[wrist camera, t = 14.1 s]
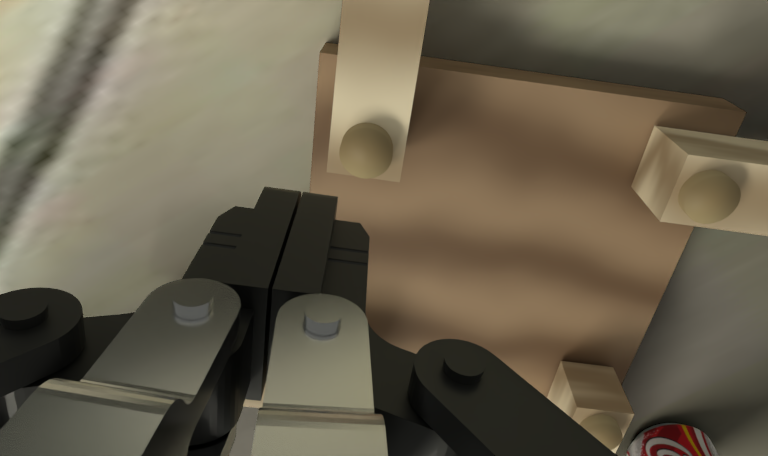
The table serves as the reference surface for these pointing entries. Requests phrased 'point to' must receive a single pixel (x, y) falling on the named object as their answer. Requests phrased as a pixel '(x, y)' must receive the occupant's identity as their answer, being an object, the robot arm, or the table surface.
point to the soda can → (672, 442)
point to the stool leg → (375, 86)
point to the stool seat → (542, 219)
